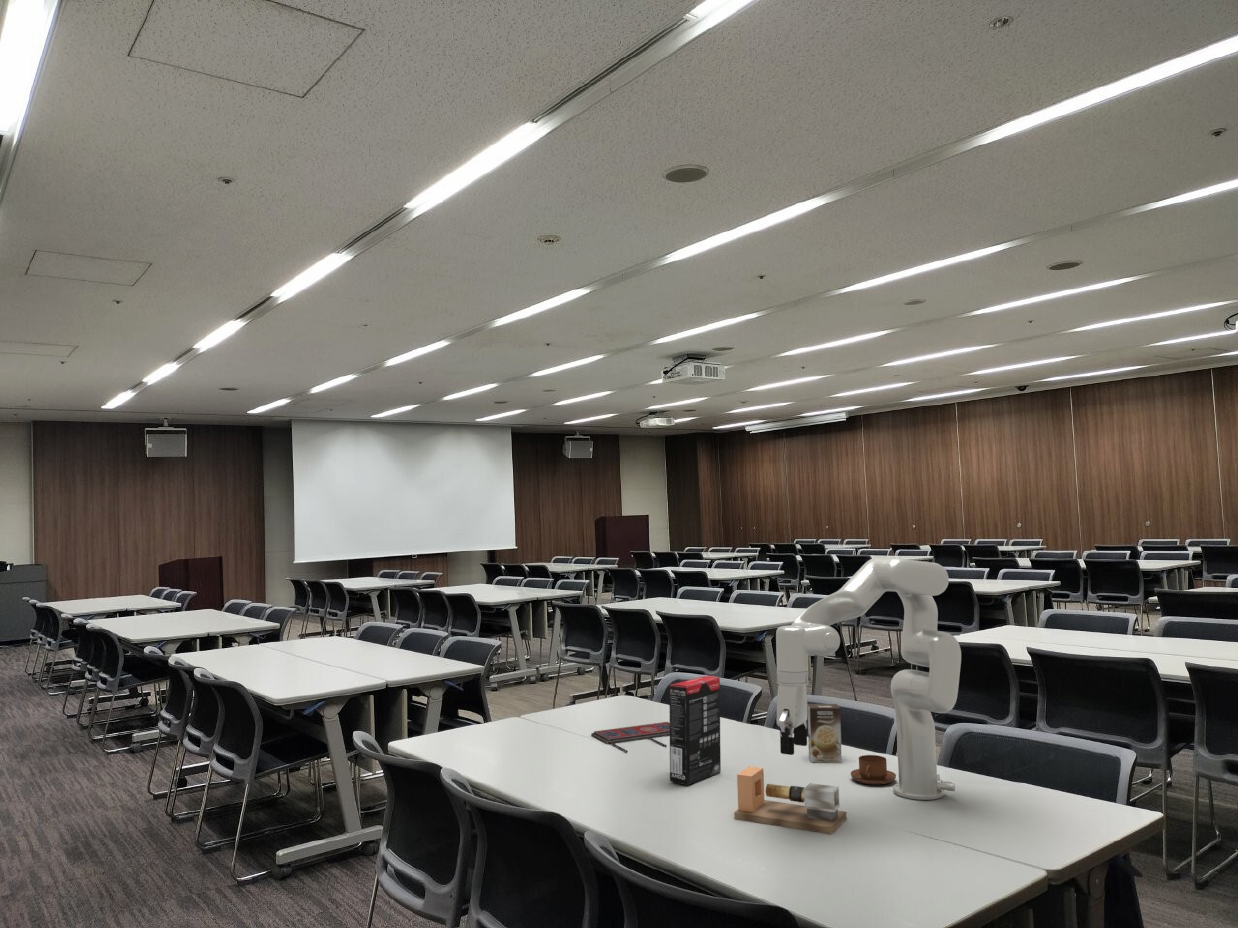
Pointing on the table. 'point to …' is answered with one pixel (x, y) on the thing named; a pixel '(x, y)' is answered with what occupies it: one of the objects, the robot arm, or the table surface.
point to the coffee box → (824, 733)
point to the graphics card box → (694, 729)
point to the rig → (802, 811)
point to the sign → (633, 733)
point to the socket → (750, 789)
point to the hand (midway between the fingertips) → (794, 749)
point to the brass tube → (788, 792)
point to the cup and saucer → (873, 770)
